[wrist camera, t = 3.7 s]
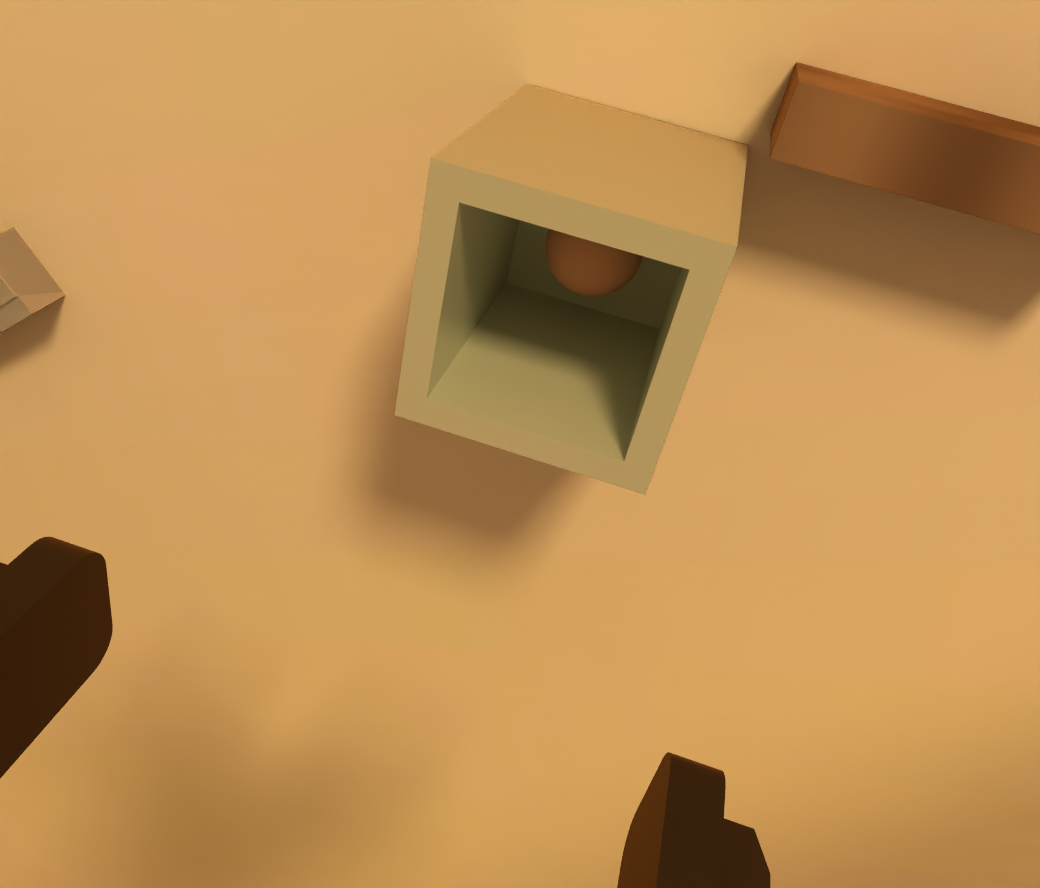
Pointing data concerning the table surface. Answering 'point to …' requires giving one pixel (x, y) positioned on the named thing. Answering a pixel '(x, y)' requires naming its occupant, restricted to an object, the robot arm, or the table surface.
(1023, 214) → the walnut bar
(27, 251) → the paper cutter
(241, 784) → the table surface
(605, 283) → the terracotta ball
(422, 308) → the celadon pot
